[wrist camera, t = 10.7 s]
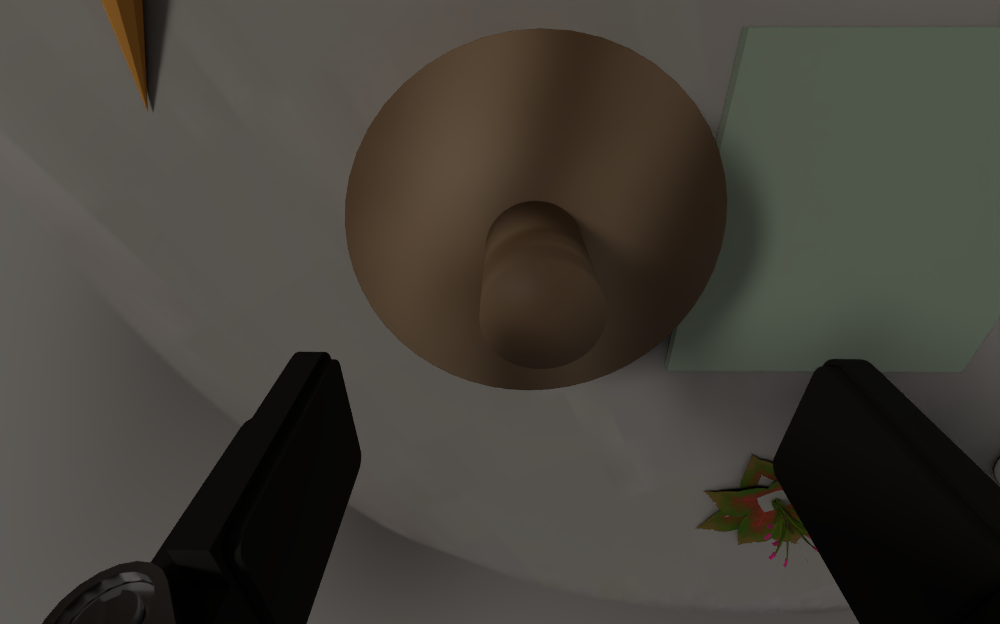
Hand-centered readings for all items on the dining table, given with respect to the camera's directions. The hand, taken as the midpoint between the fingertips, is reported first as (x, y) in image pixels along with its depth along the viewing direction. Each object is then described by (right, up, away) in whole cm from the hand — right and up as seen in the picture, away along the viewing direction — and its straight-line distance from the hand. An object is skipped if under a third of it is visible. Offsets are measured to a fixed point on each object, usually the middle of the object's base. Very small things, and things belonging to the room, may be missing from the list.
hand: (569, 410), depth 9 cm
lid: (0, +5, +9) cm, 10 cm away
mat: (+18, +6, +15) cm, 24 cm away
